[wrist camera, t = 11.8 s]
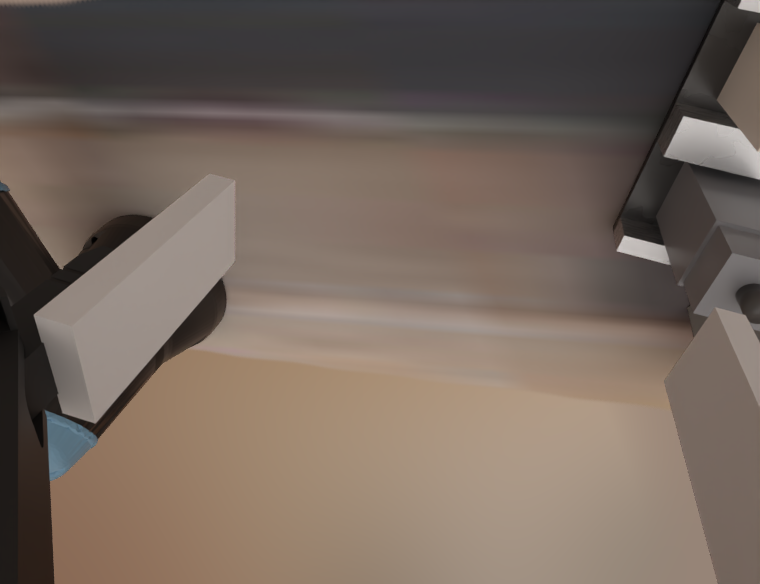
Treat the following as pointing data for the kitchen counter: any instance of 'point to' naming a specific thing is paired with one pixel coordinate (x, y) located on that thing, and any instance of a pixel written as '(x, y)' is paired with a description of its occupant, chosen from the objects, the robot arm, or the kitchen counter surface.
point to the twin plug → (714, 239)
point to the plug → (745, 91)
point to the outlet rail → (692, 132)
